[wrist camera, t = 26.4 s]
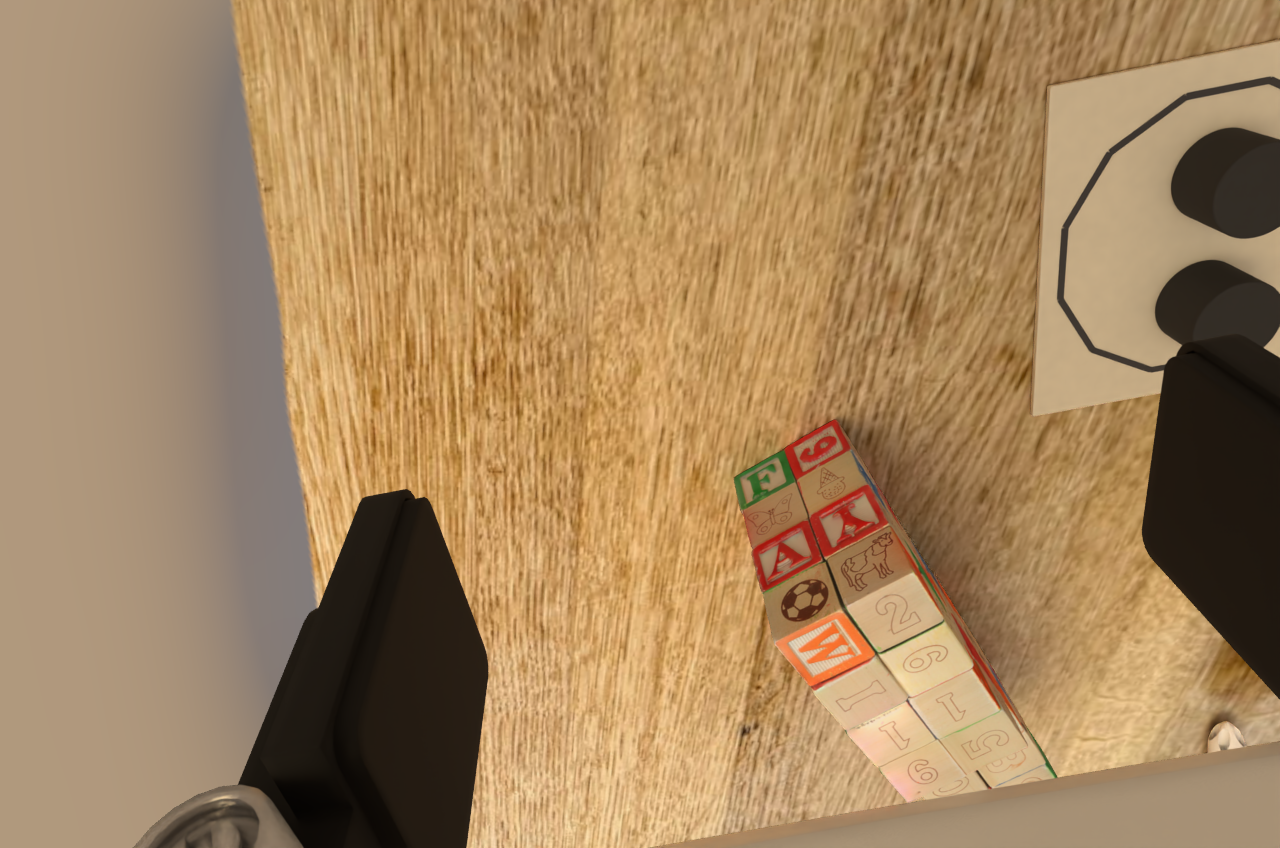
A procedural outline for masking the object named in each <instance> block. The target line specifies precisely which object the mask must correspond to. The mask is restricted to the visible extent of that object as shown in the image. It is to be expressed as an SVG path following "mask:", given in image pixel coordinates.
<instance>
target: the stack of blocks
mask: <svg viewBox="0 0 1280 848" xmlns="http://www.w3.org/2000/svg"><path fill="white" fill-rule="evenodd" d="M734 484H735V488H736V493H737V497H738V502H739V506H740V510H741V513H742V514H743V516H744V519H745V523H746V528H747V532H748V537H749V540H750V543H751V547H752V549H753V550H752V558H753V562H754V566H755V569H756V573H757V578H758V581H759V585H760V589H761V592H762V594H763V598H764V602H765V606H766V611H767V616H768V620H769V624H770V629H771V633H772V638H773V641H774V644H775V645H776V647H777V648H778V649H779V650H780V652H781V653H782V654H783V655H784V656H785V657H786V659H787V660H788V661H789V662H790V663H791V665H792V666H793V667H794V668H795V669H796V671H797V672H798V673H799V674H800V675H801V677H802V678H803V679H804V680H805V681H806V683H807V684H808V685H809V686H810V687H811V689H812V692H813V694H814V695H815V696H816V697H817V699H818V700H819V701H820V702H821V703H822V705H823V706H824V707H825V708H826V709H827V710H828V711H829V712H830V714H831V715H832V716H833V717H834V718H835V719H836V720H837V722H838V723H839V724H840V725H841V726H842V727H843V728H844V729H845V731H846V733H847V735H848V736H849V737H850V739H851V740H852V741H853V742H854V743H855V744H856V745H857V746H858V748H859V749H860V750H861V751H862V752H863V753H864V755H865V756H866V757H867V758H868V759H869V760H870V761H871V763H872V764H873V765H874V766H876V767H878V768H879V770H880V772H881V773H882V774H883V775H884V776H885V778H886V779H887V780H888V781H889V782H890V783H891V784H892V786H893V787H894V788H895V789H896V790H897V791H898V792H899V794H900V795H901V796H902V797H903V798H904V799H905V800H906V802H908V803H909V802H911V801H914V800H916V799H918V798H920V797H923V798H924V799H925V800H928V799H934V798H940V797H946V796H952V795H958V794H964V793H969V792H975V791H981V790H987V789H993V788H999V787H1005V786H1011V785H1017V784H1023V783H1029V782H1035V781H1041V780H1047V779H1053V778H1058V777H1057V775H1056V774H1055V772H1054V770H1053V768H1052V766H1051V765H1050V763H1049V761H1048V760H1047V758H1046V756H1045V754H1044V752H1043V751H1042V749H1041V748H1040V746H1039V745H1038V743H1037V742H1036V740H1035V739H1034V737H1033V736H1032V734H1031V733H1030V731H1029V730H1028V728H1027V726H1026V725H1025V723H1024V721H1023V719H1022V717H1021V716H1020V714H1019V712H1018V710H1017V709H1016V707H1015V705H1014V704H1013V702H1012V700H1011V699H1010V697H1009V695H1008V694H1007V692H1006V691H1005V689H1004V687H1003V685H1002V683H1001V682H1000V680H999V678H998V677H997V675H996V673H995V672H994V670H993V668H992V667H991V665H990V663H989V662H988V661H987V659H986V657H985V655H984V653H983V652H982V650H981V648H980V647H979V645H978V643H977V642H976V640H975V638H974V636H973V635H972V633H971V632H970V630H969V629H968V627H967V625H966V624H965V622H964V621H963V619H962V618H961V616H960V615H959V613H958V611H957V610H956V609H955V607H954V605H953V603H952V602H951V600H950V598H949V597H948V595H947V594H946V592H945V591H944V589H943V587H942V586H941V584H940V583H939V581H938V580H937V578H936V576H935V575H934V574H932V573H931V571H930V570H929V568H928V566H927V565H926V563H925V562H924V560H923V558H922V557H921V555H920V554H919V552H918V550H917V549H916V547H915V546H914V544H913V543H912V541H911V540H910V538H909V537H908V535H907V534H906V532H905V530H904V529H903V527H902V526H901V524H900V523H899V521H898V519H897V518H896V516H895V515H894V513H893V511H892V509H891V507H890V506H889V504H888V502H887V500H886V498H885V497H884V495H883V493H882V492H881V490H880V488H879V487H878V485H877V484H876V482H875V481H874V479H873V477H872V476H871V474H870V472H869V471H868V469H867V468H866V466H865V464H864V462H863V460H862V459H861V457H860V455H859V454H858V452H857V451H856V449H855V447H854V446H853V444H852V443H851V441H850V439H849V438H848V436H847V435H846V433H845V431H844V430H843V428H842V427H841V425H840V423H839V422H838V421H837V420H833V421H831V422H829V423H827V424H825V425H824V426H822V427H820V428H818V429H816V430H815V431H813V432H812V433H810V434H808V435H806V436H804V437H803V438H801V439H799V440H798V441H796V442H794V443H793V444H791V445H789V446H787V447H786V448H785V450H783V451H781V452H779V453H777V454H775V455H773V456H771V457H769V458H768V459H766V460H764V461H762V462H761V463H759V464H757V465H755V466H754V467H752V468H750V469H748V470H746V471H745V472H743V473H741V474H739V475H738V476H736V477H735V478H734Z"/></svg>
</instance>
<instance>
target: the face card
mask: <svg viewBox="0 0 1280 848" xmlns="http://www.w3.org/2000/svg"><path fill="white" fill-rule="evenodd" d="M1231 127H1233V128H1243V129H1246V130H1249V131H1253V132H1256V133H1260V134H1263V135H1267V136H1270V137H1273V138H1277V139H1280V39H1279V40H1274V41H1269V42H1264V43H1259V44H1254V45H1249V46H1244V47H1239V48H1234V49H1229V50H1224V51H1219V52H1214V53H1209V54H1204V55H1199V56H1194V57H1189V58H1184V59H1179V60H1174V61H1169V62H1164V63H1159V64H1154V65H1149V66H1144V67H1139V68H1134V69H1129V70H1124V71H1119V72H1114V73H1109V74H1104V75H1099V76H1094V77H1089V78H1084V79H1079V80H1074V81H1069V82H1064V83H1059V84H1054V85H1049V86H1047V101H1046V120H1045V139H1044V159H1043V178H1042V197H1041V216H1040V235H1039V255H1038V274H1037V293H1036V312H1035V332H1034V351H1033V370H1032V389H1031V408H1030V414H1031V415H1032V416H1033V417H1034V416H1039V415H1045V414H1050V413H1056V412H1061V411H1066V410H1072V409H1077V408H1083V407H1088V406H1094V405H1099V404H1105V403H1110V402H1115V401H1121V400H1126V399H1132V398H1137V397H1143V396H1148V395H1153V394H1159V393H1161V387H1162V380H1163V373H1164V368H1165V364H1166V363H1167V361H1168V360H1169V359H1170V358H1172V357H1175V356H1176V355H1177V352H1178V350H1179V349H1180V347H1181V346H1182V345H1181V344H1179V343H1178V342H1176V341H1175V340H1173V339H1172V338H1171V337H1169V336H1168V335H1166V334H1165V333H1164V332H1162V331H1161V329H1160V328H1159V326H1158V324H1157V322H1156V318H1155V306H1156V302H1157V299H1158V296H1159V294H1160V292H1161V291H1162V289H1163V287H1164V286H1165V285H1166V283H1167V282H1168V281H1169V280H1170V279H1171V278H1172V277H1173V276H1174V275H1175V274H1176V273H1178V272H1179V271H1180V270H1182V269H1184V268H1185V267H1187V266H1189V265H1191V264H1194V263H1196V262H1200V261H1205V260H1220V261H1223V262H1226V263H1228V264H1230V265H1232V266H1234V267H1236V268H1238V269H1240V270H1242V271H1244V272H1246V273H1248V274H1250V275H1252V276H1254V277H1256V278H1258V279H1260V280H1262V281H1264V282H1266V283H1267V284H1269V285H1271V286H1273V287H1274V288H1276V290H1277V291H1278V292H1279V293H1280V227H1279V228H1277V229H1275V230H1274V231H1272V232H1270V233H1268V234H1265V235H1262V236H1259V237H1255V238H1249V239H1239V238H1233V237H1230V236H1228V235H1226V234H1224V233H1221V232H1219V231H1217V230H1215V229H1213V228H1211V227H1209V226H1206V225H1204V224H1202V223H1200V222H1198V221H1196V220H1194V219H1191V218H1189V217H1187V216H1185V215H1184V214H1182V213H1181V212H1180V211H1179V210H1178V209H1177V207H1176V206H1175V204H1174V201H1173V199H1172V194H1171V183H1172V177H1173V174H1174V171H1175V169H1176V167H1177V165H1178V163H1179V161H1180V159H1181V158H1182V157H1183V155H1184V154H1185V153H1186V151H1187V150H1188V149H1189V148H1190V147H1191V146H1192V145H1193V144H1194V143H1196V142H1197V141H1198V140H1199V139H1201V138H1202V137H1204V136H1206V135H1208V134H1210V133H1212V132H1214V131H1217V130H1220V129H1224V128H1231ZM1264 348H1265V349H1266V350H1268V351H1270V352H1271V353H1273V354H1275V355H1276V356H1278V357H1280V327H1279V329H1278V331H1277V333H1276V334H1275V335H1274V337H1273V338H1272V339H1271V341H1270V342H1269V343H1268V344H1267V345H1266V346H1265V347H1264Z"/></svg>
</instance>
